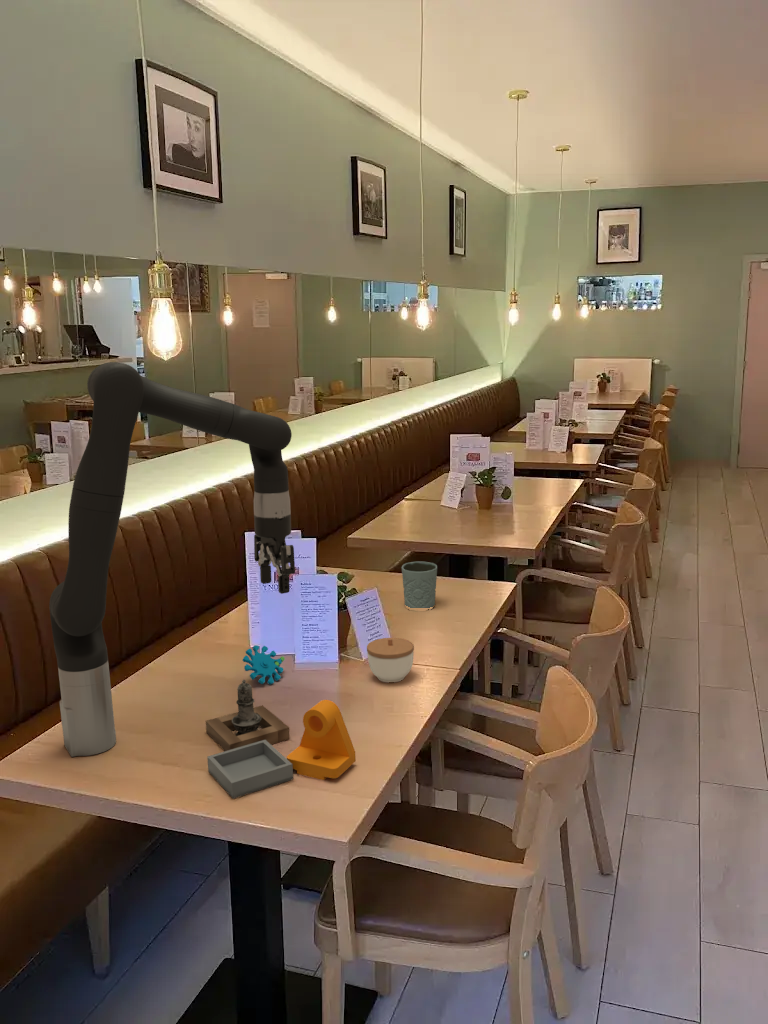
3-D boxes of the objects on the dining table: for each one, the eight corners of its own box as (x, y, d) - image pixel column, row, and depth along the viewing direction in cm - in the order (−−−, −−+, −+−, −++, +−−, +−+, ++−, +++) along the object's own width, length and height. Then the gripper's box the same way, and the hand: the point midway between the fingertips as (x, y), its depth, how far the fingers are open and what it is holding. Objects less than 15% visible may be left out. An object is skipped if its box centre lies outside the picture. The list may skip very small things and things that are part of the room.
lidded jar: (361, 684, 201) (359, 644, 199) (376, 666, 211) (375, 628, 209) (406, 689, 197) (405, 649, 195) (420, 671, 207) (419, 632, 205)
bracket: (285, 771, 163) (281, 710, 160) (306, 754, 169) (303, 695, 167) (336, 783, 158) (333, 721, 156) (355, 765, 164) (353, 704, 162)
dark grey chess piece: (267, 730, 179) (263, 674, 177) (255, 744, 174) (251, 686, 171) (240, 727, 181) (236, 672, 178) (227, 741, 175) (223, 684, 173)
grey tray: (232, 798, 154) (231, 783, 153) (208, 771, 164) (207, 756, 163) (293, 779, 160) (292, 764, 159) (266, 754, 169) (265, 739, 169)
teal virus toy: (255, 685, 198) (238, 646, 202) (243, 698, 201) (227, 659, 205) (294, 677, 205) (278, 640, 209) (282, 689, 209) (266, 653, 213)
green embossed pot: (421, 599, 260) (420, 559, 257) (445, 606, 252) (444, 566, 250) (395, 606, 254) (394, 566, 251) (418, 615, 246) (417, 573, 243)
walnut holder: (230, 756, 169) (229, 744, 168) (206, 732, 179) (205, 720, 179) (289, 739, 175) (289, 727, 175) (263, 716, 186) (262, 705, 185)
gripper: (241, 508, 187) (244, 583, 191) (271, 520, 176) (273, 599, 179) (273, 504, 191) (276, 577, 195) (304, 516, 180) (306, 593, 183)
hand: (275, 587), depth 187 cm, fingers open, 8 cm apart
